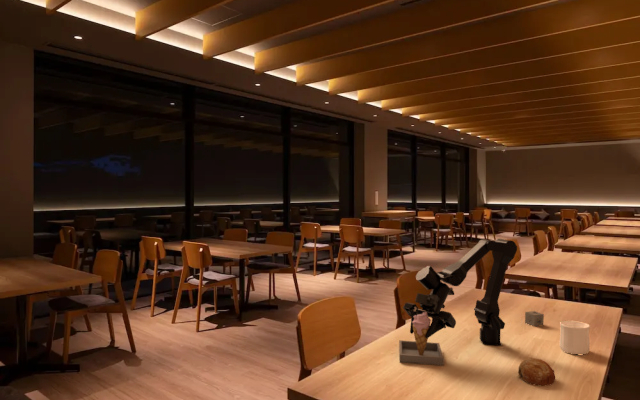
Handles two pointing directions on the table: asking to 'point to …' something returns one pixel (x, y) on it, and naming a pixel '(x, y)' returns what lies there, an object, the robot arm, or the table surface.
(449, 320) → the robot arm
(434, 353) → the tray
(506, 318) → the table surface
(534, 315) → the dice cube
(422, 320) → the ice cream cone
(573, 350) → the cup
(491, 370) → the table surface
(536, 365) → the bread roll
